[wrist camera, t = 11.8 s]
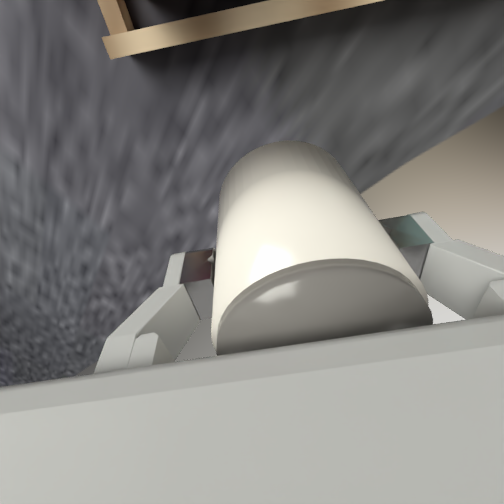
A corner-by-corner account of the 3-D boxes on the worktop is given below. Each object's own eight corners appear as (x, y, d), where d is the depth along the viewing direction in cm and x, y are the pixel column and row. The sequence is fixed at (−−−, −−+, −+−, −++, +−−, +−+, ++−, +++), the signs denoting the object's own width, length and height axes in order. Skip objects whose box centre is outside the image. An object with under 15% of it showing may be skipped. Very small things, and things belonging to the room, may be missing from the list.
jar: (234, 262, 15) (235, 411, 9) (203, 155, 11) (178, 294, 6) (345, 243, 14) (415, 387, 9) (350, 127, 11) (471, 247, 5)
